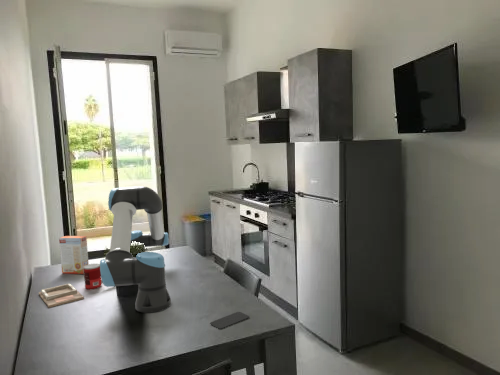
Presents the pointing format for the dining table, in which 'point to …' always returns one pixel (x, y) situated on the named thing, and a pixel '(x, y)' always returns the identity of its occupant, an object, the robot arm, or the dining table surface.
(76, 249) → the cracker box
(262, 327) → the dining table surface
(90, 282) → the canned food
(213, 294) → the dining table surface
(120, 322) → the dining table surface
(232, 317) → the phone
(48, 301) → the board
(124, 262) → the robot arm
